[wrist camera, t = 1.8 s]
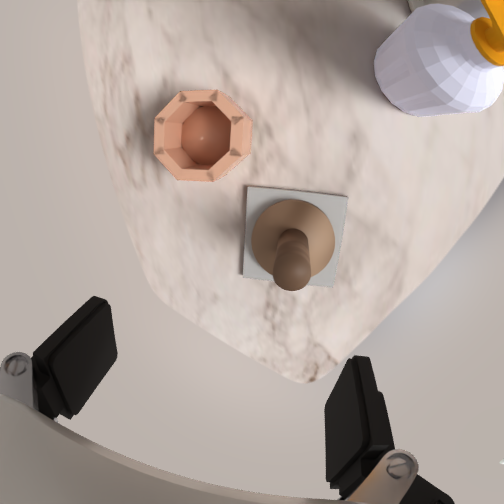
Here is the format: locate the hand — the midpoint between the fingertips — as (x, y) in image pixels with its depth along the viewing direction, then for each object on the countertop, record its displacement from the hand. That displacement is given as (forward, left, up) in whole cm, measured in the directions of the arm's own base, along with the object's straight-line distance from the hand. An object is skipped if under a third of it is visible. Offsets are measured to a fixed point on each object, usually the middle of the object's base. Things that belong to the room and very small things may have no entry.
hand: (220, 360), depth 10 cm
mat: (-3, +2, -21) cm, 22 cm away
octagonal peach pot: (+6, -8, -21) cm, 24 cm away
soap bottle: (-14, -17, -22) cm, 30 cm away
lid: (-3, +2, -21) cm, 21 cm away
